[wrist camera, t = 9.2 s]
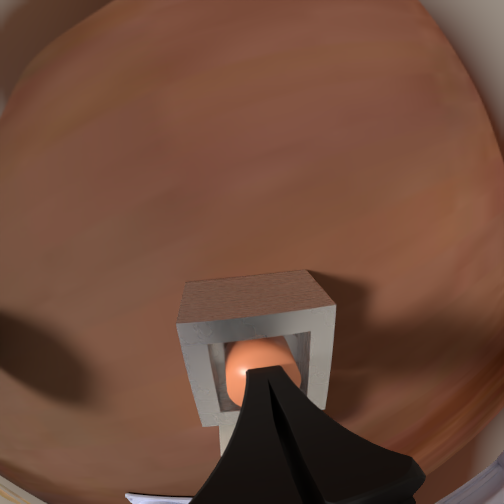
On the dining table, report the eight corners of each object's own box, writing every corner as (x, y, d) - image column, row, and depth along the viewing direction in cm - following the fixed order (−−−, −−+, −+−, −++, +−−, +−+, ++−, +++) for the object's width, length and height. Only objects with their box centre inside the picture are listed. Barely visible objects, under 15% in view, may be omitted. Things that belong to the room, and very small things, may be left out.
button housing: (303, 365, 16) (324, 411, 12) (203, 377, 15) (203, 428, 12) (305, 269, 14) (336, 304, 10) (185, 282, 14) (176, 323, 10)
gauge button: (288, 373, 13) (299, 404, 11) (228, 381, 13) (231, 413, 11) (288, 323, 12) (302, 351, 10) (220, 331, 12) (222, 362, 10)
